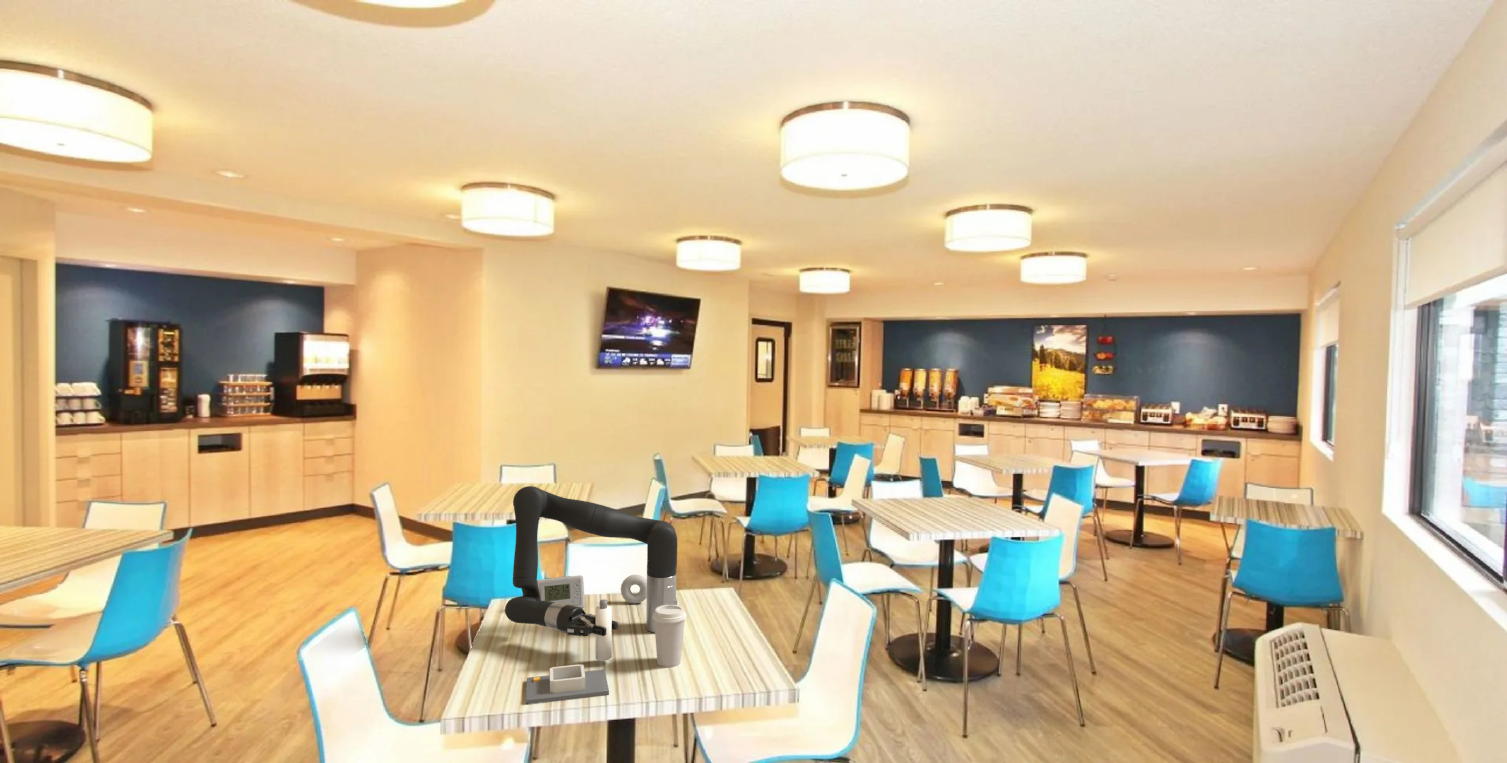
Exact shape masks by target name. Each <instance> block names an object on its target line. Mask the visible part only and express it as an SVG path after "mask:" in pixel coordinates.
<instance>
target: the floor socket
mask: <svg viewBox="0 0 1507 763" xmlns="http://www.w3.org/2000/svg"><path fill="white" fill-rule="evenodd" d="M525 691H526V692H525V694H526V695H525V697H526V698H525V699H526V700H525V704H526V703H534V704H540V703H539V702H542V703H548V702H557V701H566V700H577V699H584V698H591V697H593V698H594V697H601V696H610V690H609V684H608V679H607V674H606V671H605V669H604V668H603V669H594V670H588V671H586V670H585V666H584V664H571V665H570V664H569V665H562V666H552V667H549V675H541V676H531V677H530V676H529V677H526V690H525Z"/></svg>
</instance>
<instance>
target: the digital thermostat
mask: <svg viewBox="0 0 1507 763" xmlns="http://www.w3.org/2000/svg"><path fill="white" fill-rule="evenodd" d="M537 583H538V587H539V593H540V597H541V601H550V602H555V603H563V604H568V605H572V606H577V607H581V608H582V609H584V608H585V606H586V602H585V585H584V583H585V582H584V576H583V575H572V576H571V575H568V576H557V577H548V578H544V579H537Z"/></svg>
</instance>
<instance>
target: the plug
mask: <svg viewBox="0 0 1507 763" xmlns="http://www.w3.org/2000/svg"><path fill="white" fill-rule="evenodd" d="M612 609H613V608H612V606H611V605H608V600H607V599H604V598H603V599H600V600H599V605H598V606H595V615H596V625H597V626H602V627H605V628H606V635H605V636H601V635H597V634H595V660H597V661H602V662H604V661H608V660H611V659H612V654H613V653H612V652H613V651H612V649H613V647H612V646H613V641H612V636H613V633H612V630H613V629H612V621H613V618H612V617H613V616H612V612H613V611H612Z"/></svg>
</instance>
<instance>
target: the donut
mask: <svg viewBox="0 0 1507 763" xmlns="http://www.w3.org/2000/svg"><path fill="white" fill-rule="evenodd" d="M635 585H636V586H638V587H639V591H638V592H637V593H633V592H632V590H631V588H632V586H635ZM620 593H621V594H620V595H621V597H622V598H623V599H624V600H625V601H626V602H628V603H630V604H635V605H636V604H640V603H641V602H643V601H645V600H647V578H645V577H644V576H642V575H640V574H632V575H629V576H627V577H626V578H624V580H623V581H622V583H621V586H620Z"/></svg>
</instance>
